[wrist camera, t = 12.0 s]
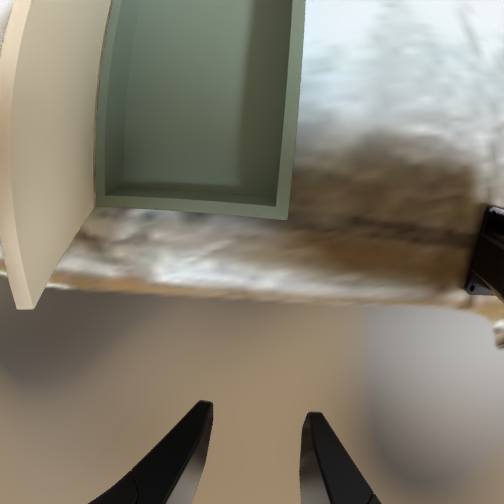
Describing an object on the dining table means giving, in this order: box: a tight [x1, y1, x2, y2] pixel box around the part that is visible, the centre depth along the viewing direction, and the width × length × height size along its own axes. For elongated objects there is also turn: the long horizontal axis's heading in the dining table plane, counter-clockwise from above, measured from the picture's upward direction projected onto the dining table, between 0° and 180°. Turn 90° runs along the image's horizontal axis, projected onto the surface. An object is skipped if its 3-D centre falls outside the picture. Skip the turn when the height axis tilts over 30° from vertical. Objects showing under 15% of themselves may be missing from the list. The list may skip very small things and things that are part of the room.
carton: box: [95, 0, 306, 220], centre depth 12 cm, size 10×20×3 cm, turn 176°
